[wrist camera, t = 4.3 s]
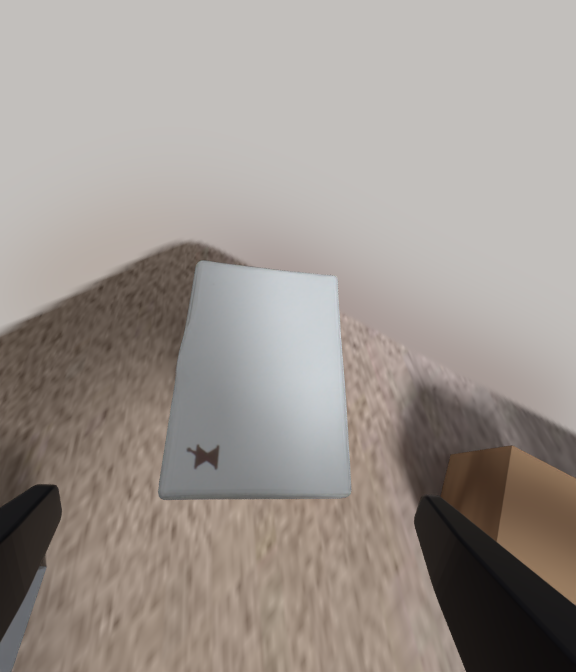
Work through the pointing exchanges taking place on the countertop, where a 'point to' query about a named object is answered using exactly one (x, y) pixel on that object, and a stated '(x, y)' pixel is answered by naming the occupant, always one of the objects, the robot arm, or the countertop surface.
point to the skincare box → (258, 389)
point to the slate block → (19, 625)
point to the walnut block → (519, 509)
